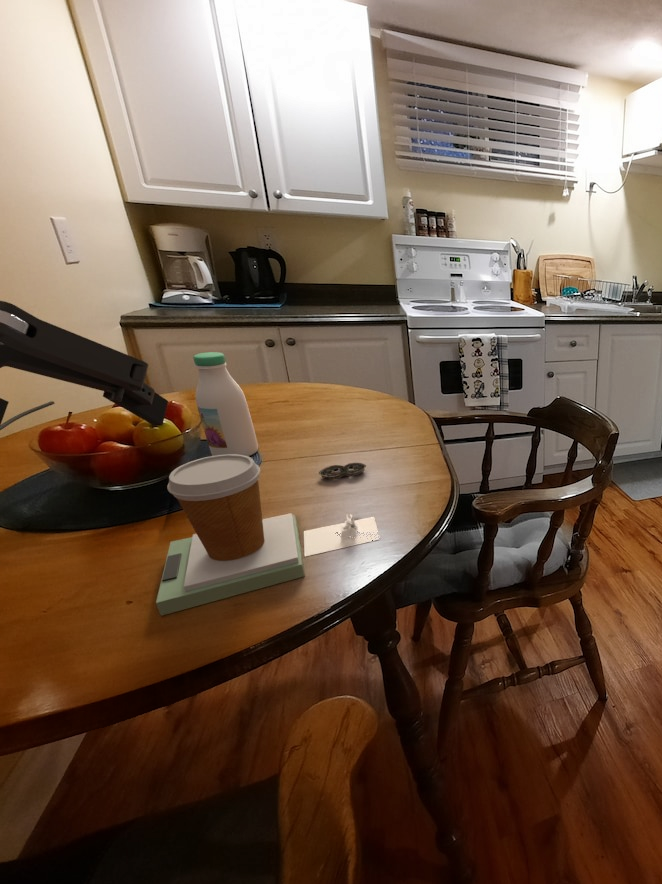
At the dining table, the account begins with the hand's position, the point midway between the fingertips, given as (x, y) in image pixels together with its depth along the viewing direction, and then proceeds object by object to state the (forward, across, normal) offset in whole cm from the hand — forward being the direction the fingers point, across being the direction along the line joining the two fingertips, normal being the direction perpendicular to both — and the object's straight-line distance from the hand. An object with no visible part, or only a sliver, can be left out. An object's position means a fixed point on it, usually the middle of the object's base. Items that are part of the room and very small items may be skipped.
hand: (82, 414), depth 48 cm
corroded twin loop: (+43, +10, +7) cm, 45 cm away
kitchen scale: (+25, +4, -12) cm, 28 cm away
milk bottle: (+51, -13, +14) cm, 55 cm away
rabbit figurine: (+29, +15, -8) cm, 34 cm away
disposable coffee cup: (+23, +4, -10) cm, 25 cm away
